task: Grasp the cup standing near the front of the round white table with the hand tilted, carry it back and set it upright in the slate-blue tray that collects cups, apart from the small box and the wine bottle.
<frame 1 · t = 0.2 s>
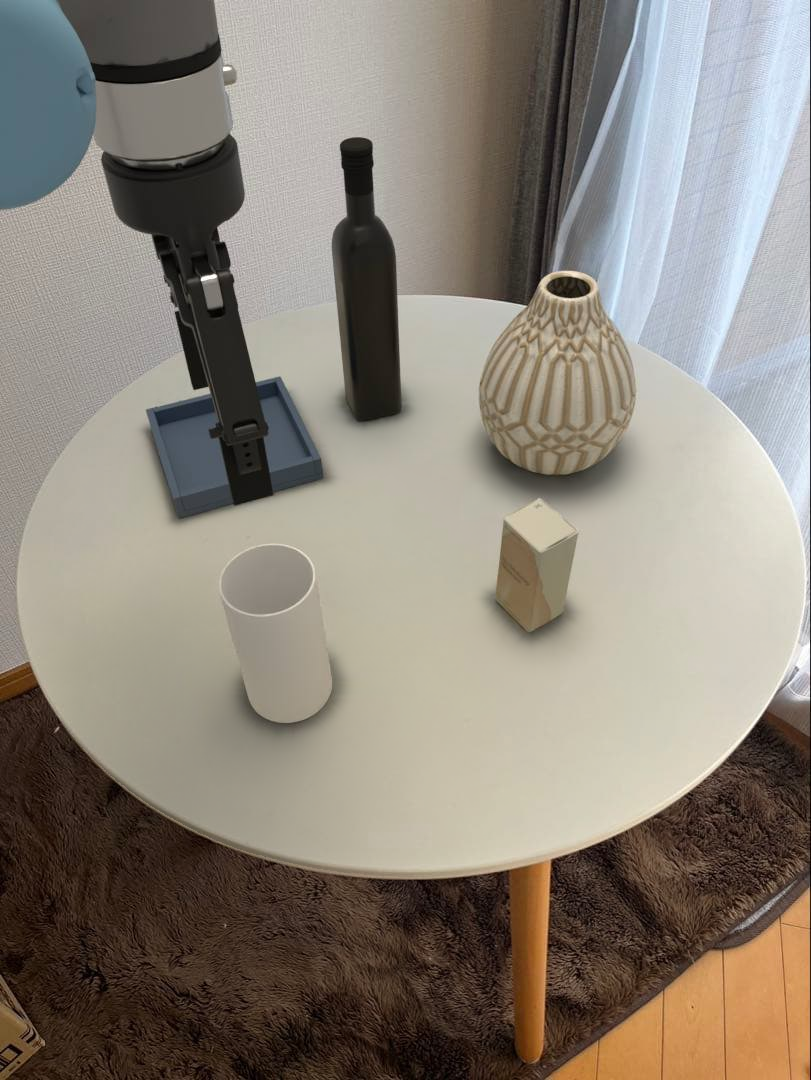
hand: (230, 436, 65), 23 cm above the table, tool pointing down, fingers open, 13 cm apart
wine bottle: (373, 405, 104), on the table
vase: (549, 450, 98), on the table
cup tray: (234, 452, 99), on the table
cup: (290, 687, 77), on the table
box: (529, 608, 83), on the table
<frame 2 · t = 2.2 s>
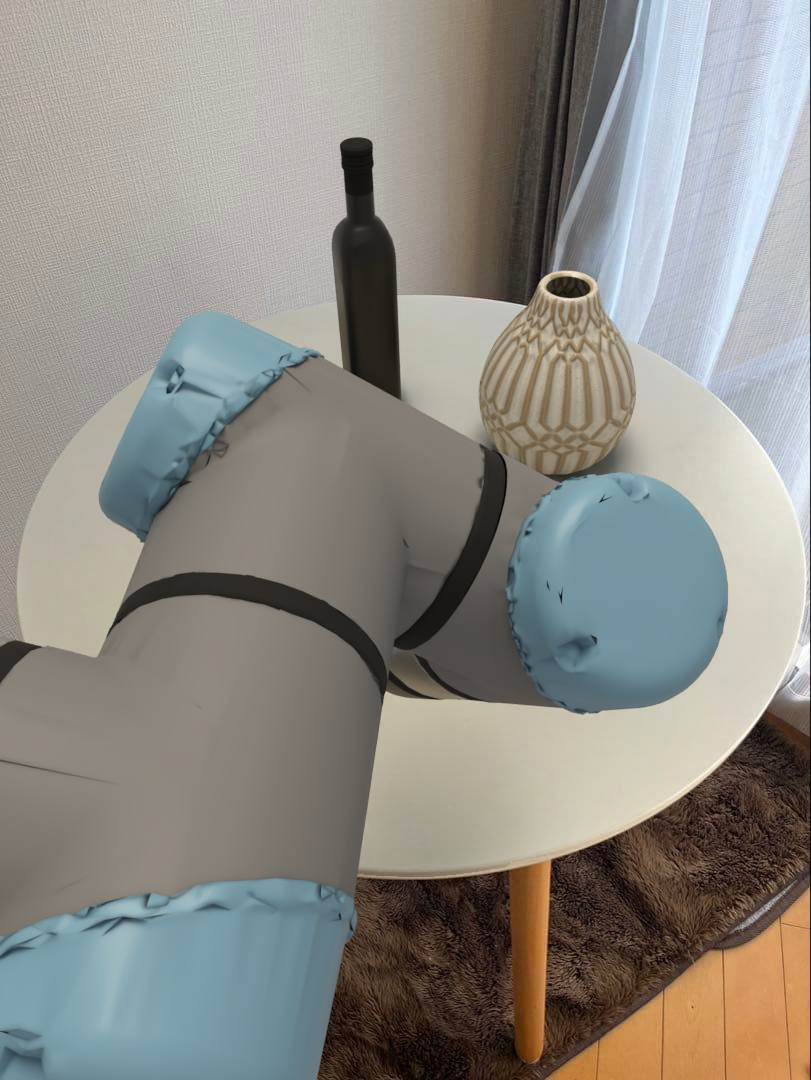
hand: (315, 635, 61), 16 cm above the table, tool tilted 40°, fingers open, 13 cm apart
nothing on the table moved.
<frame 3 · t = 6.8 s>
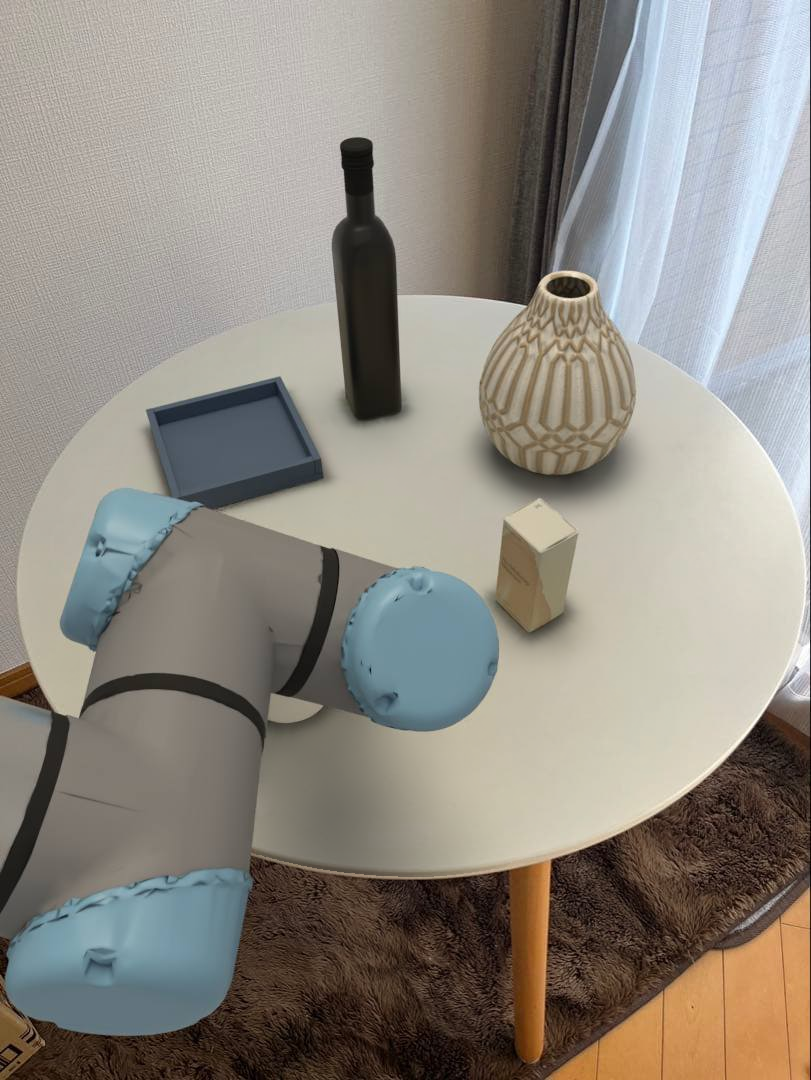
hand: (264, 624, 76), 5 cm above the table, tool tilted 45°, fingers closed on cup, 7 cm apart
cup: (290, 687, 77), on the table, touching gripper
everything else where it was.
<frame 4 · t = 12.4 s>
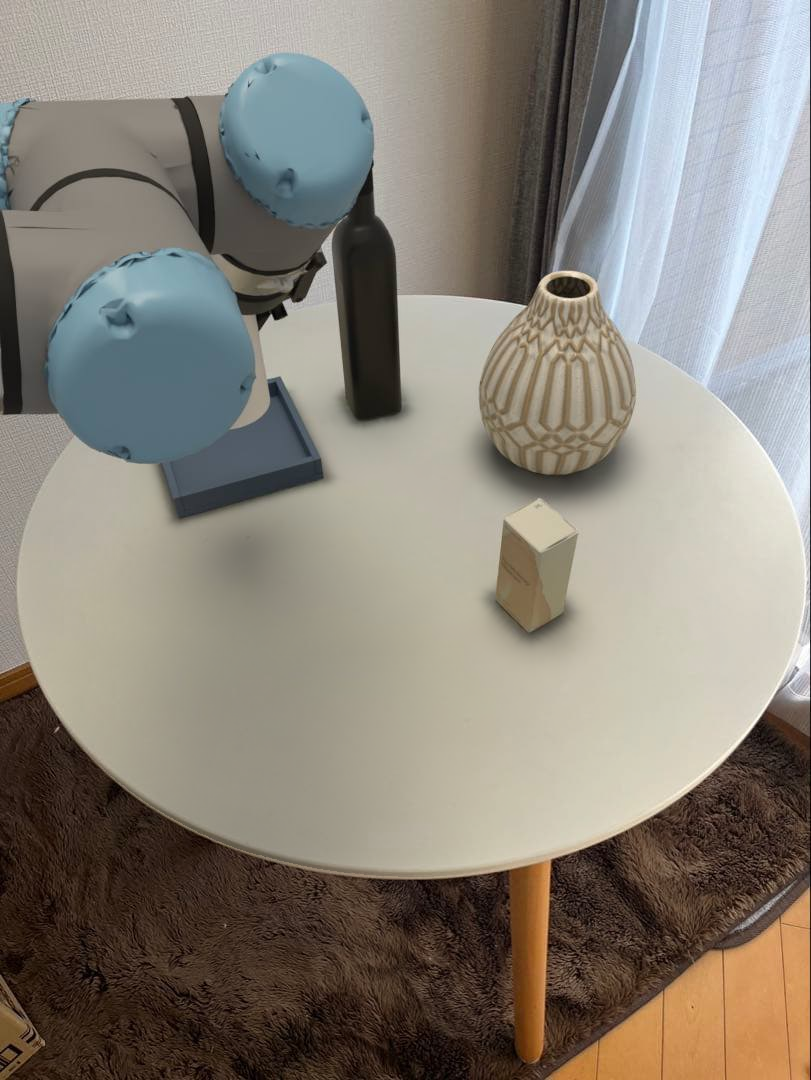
hand: (203, 337, 78), 21 cm above the table, tool tilted 45°, fingers closed on cup, 7 cm apart
cup: (229, 405, 79), point 15 cm above the table, touching gripper
everything else where it was.
when the fingers open (6 cm above the table, at t = 18.3 s): cup stays where it is, resting on cup tray.
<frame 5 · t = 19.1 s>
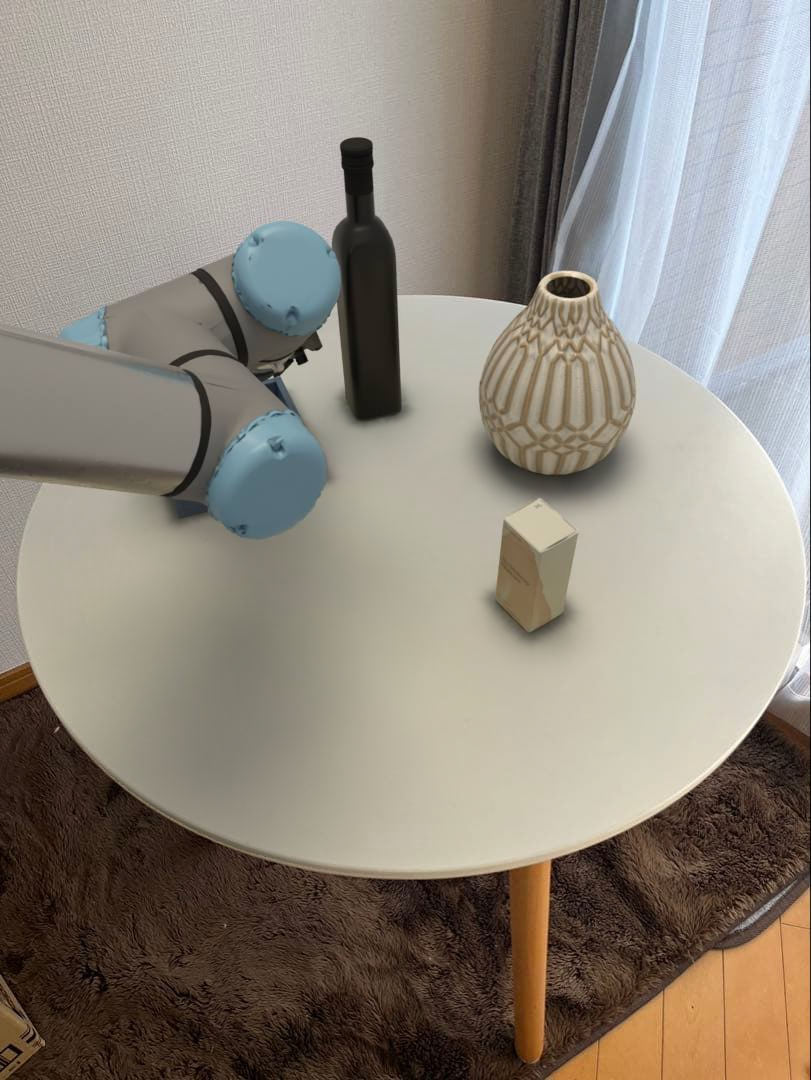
hand: (213, 386, 95), 8 cm above the table, tool tilted 45°, fingers open, 13 cm apart
cup: (234, 448, 98), point 1 cm above the table, touching cup tray
everything else where it was.
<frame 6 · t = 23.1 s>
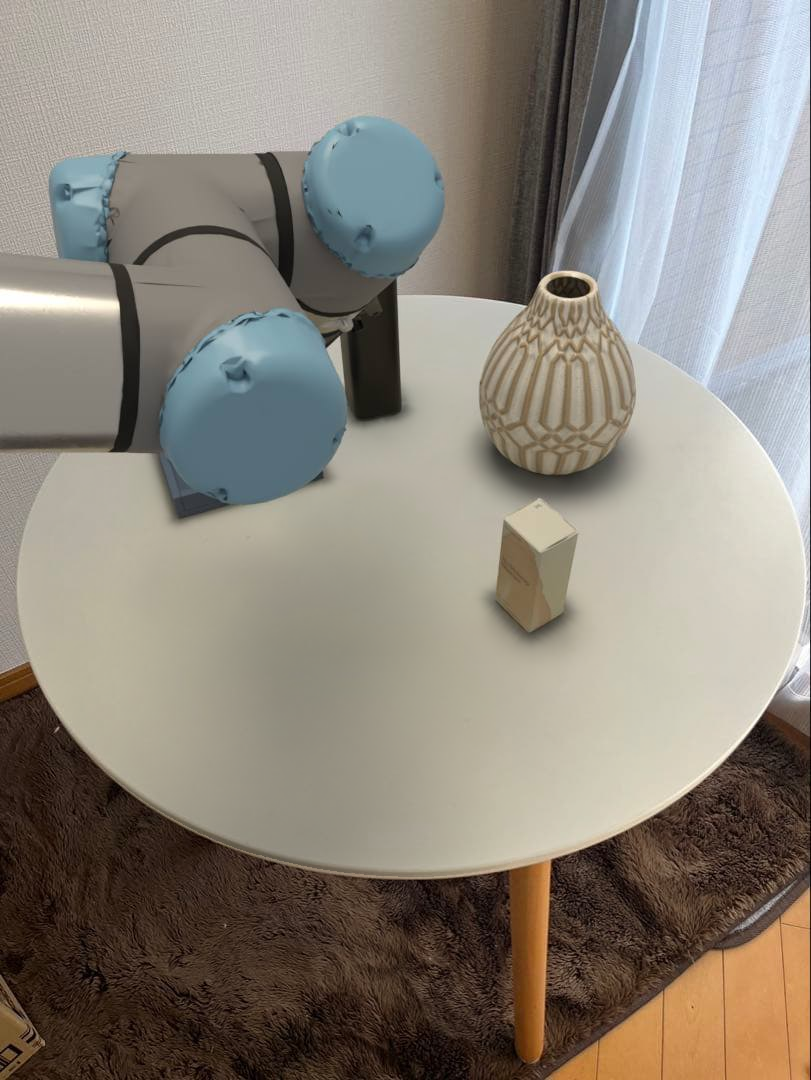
hand: (248, 359, 79), 19 cm above the table, tool tilted 45°, fingers open, 13 cm apart
nothing on the table moved.
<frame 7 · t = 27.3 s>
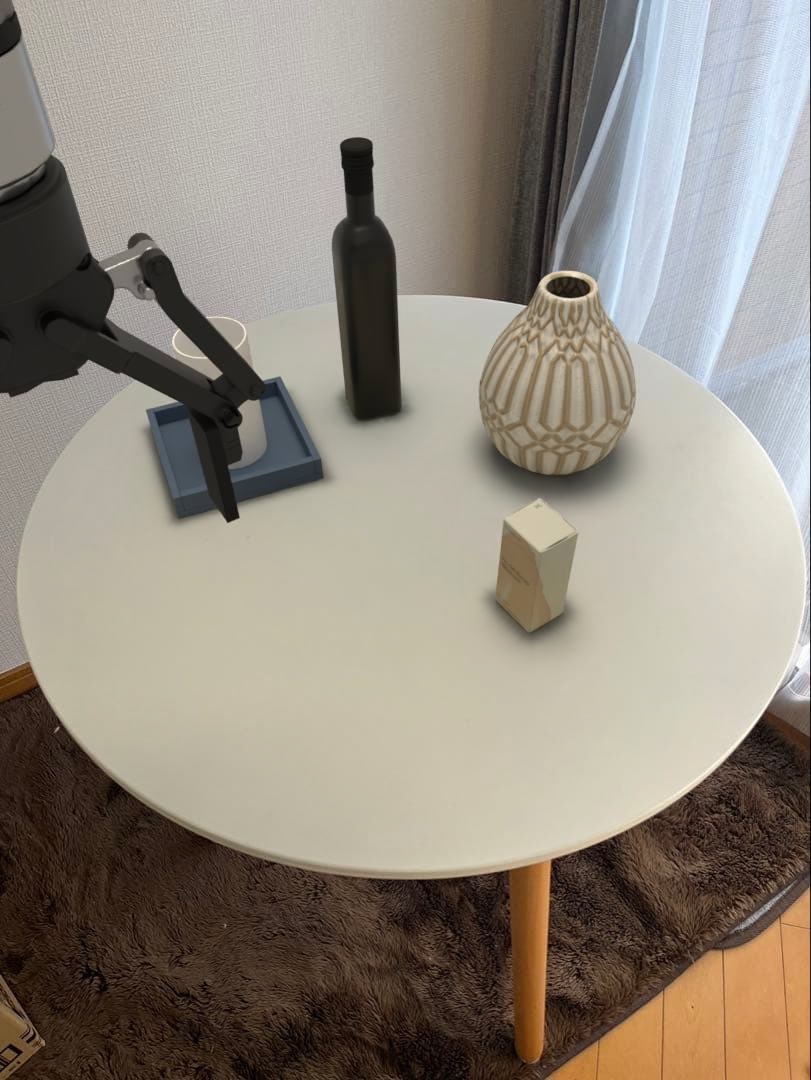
hand: (110, 554, 49), 29 cm above the table, tool pointing down, fingers open, 13 cm apart
nothing on the table moved.
at the end: cup inside the target area in the cup tray (0.1 cm from its centre), point 0.6 cm above the cup tray's base; cup tilted 0°; the gripper is holding nothing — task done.
